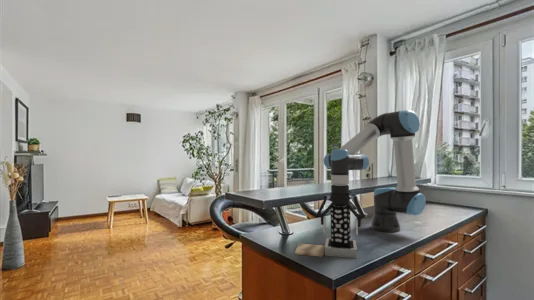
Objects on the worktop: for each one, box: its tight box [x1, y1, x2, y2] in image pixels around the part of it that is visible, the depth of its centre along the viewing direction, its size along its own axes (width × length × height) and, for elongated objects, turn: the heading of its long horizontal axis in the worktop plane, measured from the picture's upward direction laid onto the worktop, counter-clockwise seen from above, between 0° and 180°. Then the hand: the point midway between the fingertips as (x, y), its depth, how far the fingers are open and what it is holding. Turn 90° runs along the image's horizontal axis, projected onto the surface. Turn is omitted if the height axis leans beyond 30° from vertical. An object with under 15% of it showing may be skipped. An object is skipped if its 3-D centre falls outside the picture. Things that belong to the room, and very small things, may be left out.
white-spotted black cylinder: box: [330, 205, 352, 248], centre depth 121 cm, size 8×8×20 cm
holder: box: [324, 237, 358, 259], centre depth 122 cm, size 13×16×18 cm
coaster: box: [294, 243, 325, 258], centre depth 122 cm, size 12×12×1 cm
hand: (340, 233), depth 121 cm, fingers open, 13 cm apart
